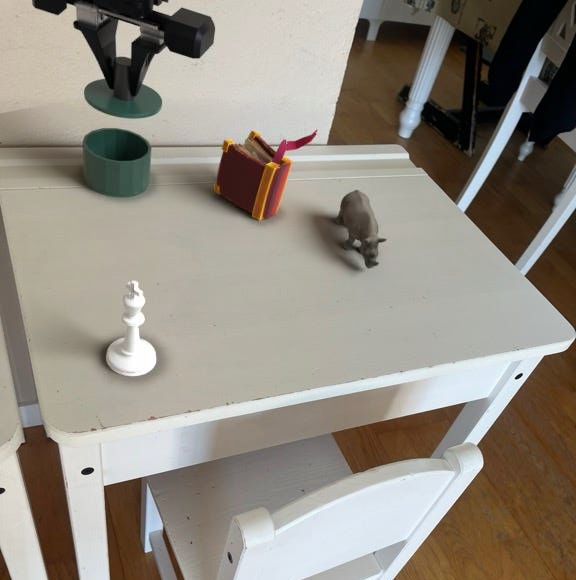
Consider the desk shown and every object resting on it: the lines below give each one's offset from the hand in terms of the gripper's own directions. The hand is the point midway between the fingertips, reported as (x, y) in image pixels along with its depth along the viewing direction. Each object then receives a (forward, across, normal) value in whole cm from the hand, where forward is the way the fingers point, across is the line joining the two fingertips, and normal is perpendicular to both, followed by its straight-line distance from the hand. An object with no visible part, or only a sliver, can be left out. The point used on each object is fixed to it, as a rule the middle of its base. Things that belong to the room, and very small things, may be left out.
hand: (123, 91), depth 73 cm
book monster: (+13, -18, -7) cm, 23 cm away
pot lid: (+1, 0, 0) cm, 1 cm away
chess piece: (+13, -13, +29) cm, 34 cm away
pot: (+12, +1, -1) cm, 13 cm away
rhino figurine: (+13, -32, -2) cm, 35 cm away
